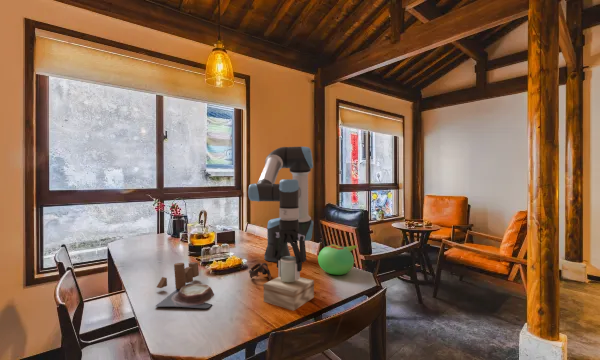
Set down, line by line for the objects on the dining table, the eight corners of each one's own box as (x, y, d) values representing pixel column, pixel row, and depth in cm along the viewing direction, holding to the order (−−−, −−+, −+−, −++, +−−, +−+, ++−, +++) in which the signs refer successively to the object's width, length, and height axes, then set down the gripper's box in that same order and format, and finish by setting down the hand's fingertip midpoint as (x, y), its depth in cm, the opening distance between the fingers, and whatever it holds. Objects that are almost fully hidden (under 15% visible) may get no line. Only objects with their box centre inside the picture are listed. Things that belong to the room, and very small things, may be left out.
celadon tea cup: (286, 274, 116) (286, 255, 116) (300, 277, 113) (300, 257, 113) (277, 280, 110) (277, 259, 110) (292, 283, 107) (292, 261, 107)
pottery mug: (270, 283, 128) (261, 268, 127) (253, 291, 130) (243, 276, 129) (276, 269, 140) (267, 255, 139) (260, 276, 142) (251, 262, 141)
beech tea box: (285, 290, 121) (285, 273, 121) (314, 297, 113) (314, 280, 113) (263, 302, 109) (263, 283, 109) (293, 311, 101) (293, 291, 101)
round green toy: (311, 273, 142) (311, 243, 142) (331, 265, 154) (331, 238, 154) (341, 282, 130) (341, 249, 129) (361, 273, 142) (361, 243, 142)
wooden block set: (192, 278, 135) (191, 256, 135) (205, 279, 131) (203, 257, 131) (156, 291, 120) (154, 267, 120) (169, 294, 115) (167, 268, 116)
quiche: (181, 287, 125) (181, 278, 125) (226, 289, 124) (227, 280, 124) (153, 306, 104) (154, 295, 104) (207, 309, 103) (208, 298, 103)
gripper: (262, 218, 113) (262, 276, 113) (307, 222, 103) (307, 285, 104) (273, 216, 119) (273, 271, 120) (316, 219, 110) (315, 279, 110)
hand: (288, 277), depth 112 cm, fingers open, 7 cm apart
